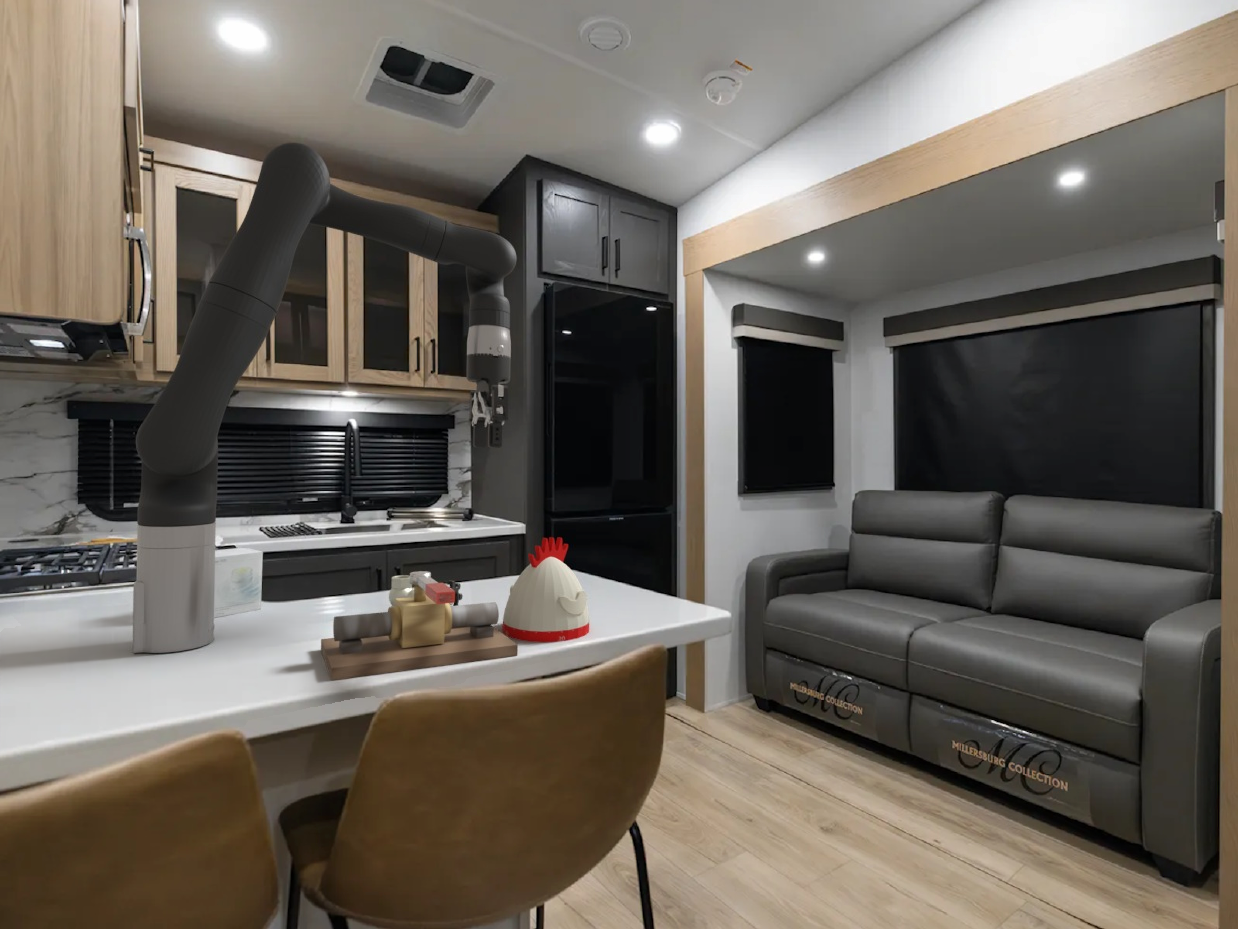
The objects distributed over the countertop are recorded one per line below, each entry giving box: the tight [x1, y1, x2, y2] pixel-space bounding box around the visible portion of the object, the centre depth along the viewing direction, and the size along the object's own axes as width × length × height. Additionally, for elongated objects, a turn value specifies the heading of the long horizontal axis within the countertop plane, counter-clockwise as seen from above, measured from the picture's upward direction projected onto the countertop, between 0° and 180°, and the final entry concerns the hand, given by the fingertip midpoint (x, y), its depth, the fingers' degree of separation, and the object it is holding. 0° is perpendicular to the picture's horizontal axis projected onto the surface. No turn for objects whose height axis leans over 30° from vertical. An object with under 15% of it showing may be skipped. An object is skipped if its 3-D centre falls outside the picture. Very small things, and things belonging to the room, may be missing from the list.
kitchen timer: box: [502, 536, 590, 643], centre depth 106 cm, size 14×14×15 cm
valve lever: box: [409, 570, 455, 604], centre depth 86 cm, size 15×3×1 cm, turn 29°
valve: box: [388, 574, 464, 607], centre depth 113 cm, size 7×7×12 cm
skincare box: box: [214, 547, 264, 619], centre depth 112 cm, size 10×6×10 cm, turn 148°
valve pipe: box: [320, 585, 519, 681], centre depth 92 cm, size 24×14×10 cm, turn 119°
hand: (486, 447), depth 115 cm, fingers open, 8 cm apart
